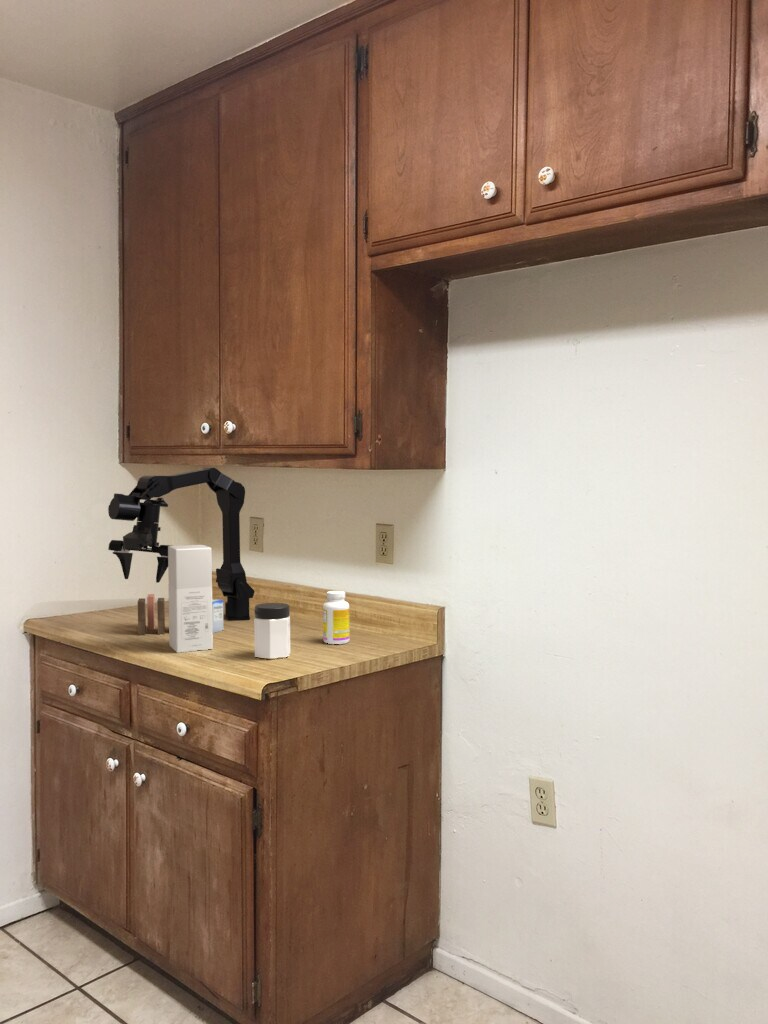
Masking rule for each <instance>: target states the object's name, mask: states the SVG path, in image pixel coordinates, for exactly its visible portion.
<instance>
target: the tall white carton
mask: <svg viewBox="0 0 768 1024" xmlns="http://www.w3.org/2000/svg"><path fill="white" fill-rule="evenodd" d="M212 558H213V557H212V547H210V546H208V545H204V544H189V545H187V544H186V545H185V544H184V545H172V546H168V568H167V569H168V570H167V571H168V587H167V588H168V631H169V632H168V633H169V634H168V636H169V637H168V638H169V639H168V640H169V641H168V642H169V645H168V646H169V647H170V648H171V649H172V650H174V651H175V653H176V654H179V653H181V652H182V653H190V652H189V651H193V652H198V651H197V650H203V651H209V650H208V649H212V650H213V648H214V638H213V636H214V633H213V617H212V599H213V578H212V577H213V573H212V572H213V571H212V570H213V569H212V568H213V567H212V564H213V563H212V562H213V559H212Z"/></svg>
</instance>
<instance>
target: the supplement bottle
mask: <svg viewBox="0 0 768 1024" xmlns="http://www.w3.org/2000/svg"><path fill="white" fill-rule="evenodd" d="M326 597H327V601H325V602H324V603H323V606H322V613H323V614H322V621H323V622H322V624H323V626H322V627H323V628H322V629H323V631H322V634H323V637H322V638H323V642H324V643H325V644H327V643H328V644H327V645H334V644H339V645H344V644H345V645H346V644H348V643H349V642H350V639H351V637H350V635H351V634H350V630H351V629H350V603H349V602H348V601H345V598H346V592H345V591H344V590H343V591H342V590H330V591H327V592H326Z"/></svg>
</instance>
